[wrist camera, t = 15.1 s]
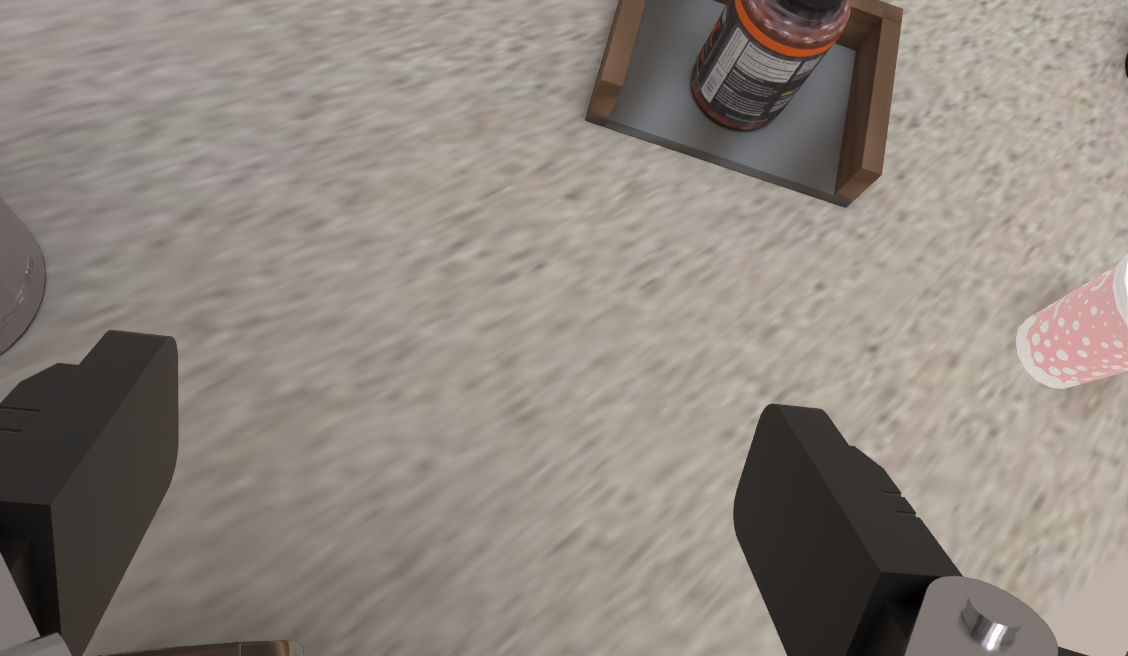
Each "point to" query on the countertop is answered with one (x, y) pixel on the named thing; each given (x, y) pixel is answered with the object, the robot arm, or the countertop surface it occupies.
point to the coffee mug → (1126, 65)
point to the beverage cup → (1079, 333)
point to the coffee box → (227, 649)
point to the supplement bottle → (763, 57)
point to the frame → (788, 143)
